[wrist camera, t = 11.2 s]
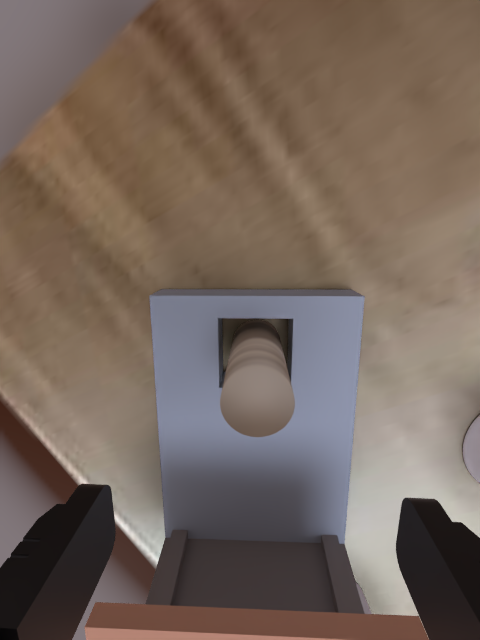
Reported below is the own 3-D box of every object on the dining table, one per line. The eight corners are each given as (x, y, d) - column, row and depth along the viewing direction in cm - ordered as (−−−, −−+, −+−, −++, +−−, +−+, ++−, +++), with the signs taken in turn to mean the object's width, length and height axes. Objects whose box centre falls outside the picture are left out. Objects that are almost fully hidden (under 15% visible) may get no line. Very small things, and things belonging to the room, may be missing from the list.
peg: (232, 319, 26) (219, 368, 16) (280, 319, 26) (296, 368, 16) (233, 364, 27) (220, 436, 17) (279, 364, 26) (293, 437, 17)
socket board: (161, 289, 25) (45, 351, 11) (351, 289, 25) (478, 356, 11) (174, 514, 30) (103, 757, 16) (335, 519, 29) (408, 776, 15)
